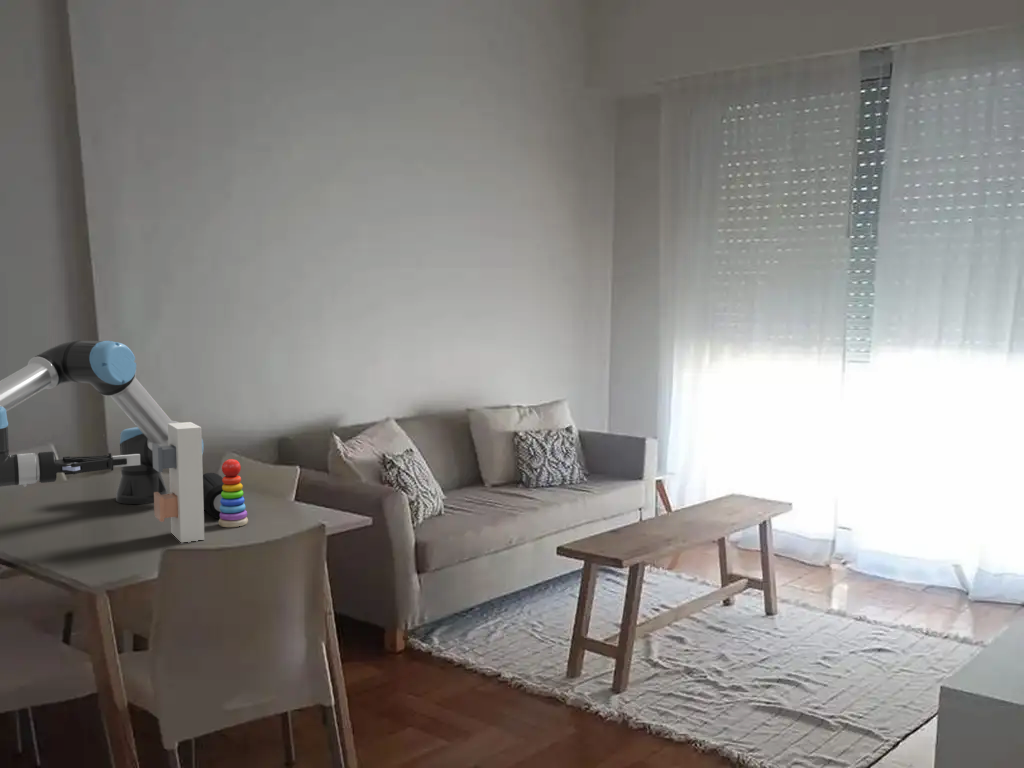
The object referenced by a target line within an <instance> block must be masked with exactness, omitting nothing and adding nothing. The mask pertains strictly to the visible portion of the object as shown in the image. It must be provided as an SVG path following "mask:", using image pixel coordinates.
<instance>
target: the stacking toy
mask: <svg viewBox="0 0 1024 768" xmlns="http://www.w3.org/2000/svg"><path fill="white" fill-rule="evenodd" d="M241 467H242V466H241V463H240V462H239V461H238V460H237V459H235V458H234V459H233V458H230V459H226V460H224V462H222V465H221V472H222V473H223V475H224V476H223V477H222V478H223V479H222V481H223V483H224V484H223V486H222V489H223V490H224V491H222V492H221V496H222V498H221V500H220V502H221V504H222V505H221V506H220V511H221V513H220V519H218V525H219V526H220V527H223V528H238V527H239V526H240V527H243V526H245V525H247V524H248V523H249V519H248V517H247V516H248V511H247V510H246V504H245V498H244V491H243V488H244V485H243V484H242V483H241V482H242V477H241V476H240V475H239V474H240V472H241V470H242V468H241Z"/></svg>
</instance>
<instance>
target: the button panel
mask: <svg viewBox="0 0 1024 768" xmlns="http://www.w3.org/2000/svg"><path fill="white" fill-rule="evenodd" d="M202 430H203V429H202V426H200V425H198V424H196V423H194V422H192V421H186V422H183V421H182V422H179V423H168V446H169V445H174V446H175V447H176V464H177V468H169V469H168V471H169V472H168V473H169V479H168V481H169V494H173V493H174V494H175V495H177V498H178V517H170V533H172V534H173V535H174V536H175V537H176V538H177V539H178V540H179V541H180V542H188V543H192V542H191V541H196V542H199V541H198V540H204V541H205V511H204V510H205V508H204V501H203V474H204V472H203V471H204V470H203V469H204V467H203V466H204V465H203V455H202V439H203V435H202V432H203V431H202ZM172 534H171V535H172ZM173 535H172V536H173ZM174 536H173V537H174ZM175 537H174V538H175ZM176 538H175V539H176ZM177 539H176V540H177ZM178 540H177V541H178ZM179 541H178V542H179ZM180 542H179V543H180Z"/></svg>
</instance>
